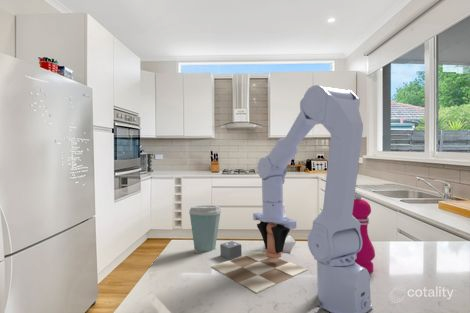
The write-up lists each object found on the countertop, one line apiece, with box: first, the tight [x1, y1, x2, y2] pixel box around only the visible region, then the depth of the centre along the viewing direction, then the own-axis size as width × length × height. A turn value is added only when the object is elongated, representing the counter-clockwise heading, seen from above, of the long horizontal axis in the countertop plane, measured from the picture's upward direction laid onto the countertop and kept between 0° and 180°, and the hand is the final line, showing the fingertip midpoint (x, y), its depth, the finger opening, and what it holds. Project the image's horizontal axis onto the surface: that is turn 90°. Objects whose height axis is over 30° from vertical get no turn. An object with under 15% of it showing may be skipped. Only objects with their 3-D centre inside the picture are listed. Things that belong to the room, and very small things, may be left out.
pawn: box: [264, 222, 282, 259], centre depth 72 cm, size 4×4×9 cm
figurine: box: [282, 202, 297, 253], centre depth 84 cm, size 7×9×15 cm
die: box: [219, 240, 243, 261], centre depth 77 cm, size 4×4×5 cm
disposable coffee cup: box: [188, 204, 222, 254], centre depth 85 cm, size 11×11×15 cm
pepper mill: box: [352, 193, 376, 274], centre depth 69 cm, size 7×7×20 cm
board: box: [210, 250, 309, 294], centre depth 68 cm, size 18×18×1 cm
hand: (274, 250), depth 72 cm, fingers closed on pawn, 3 cm apart
